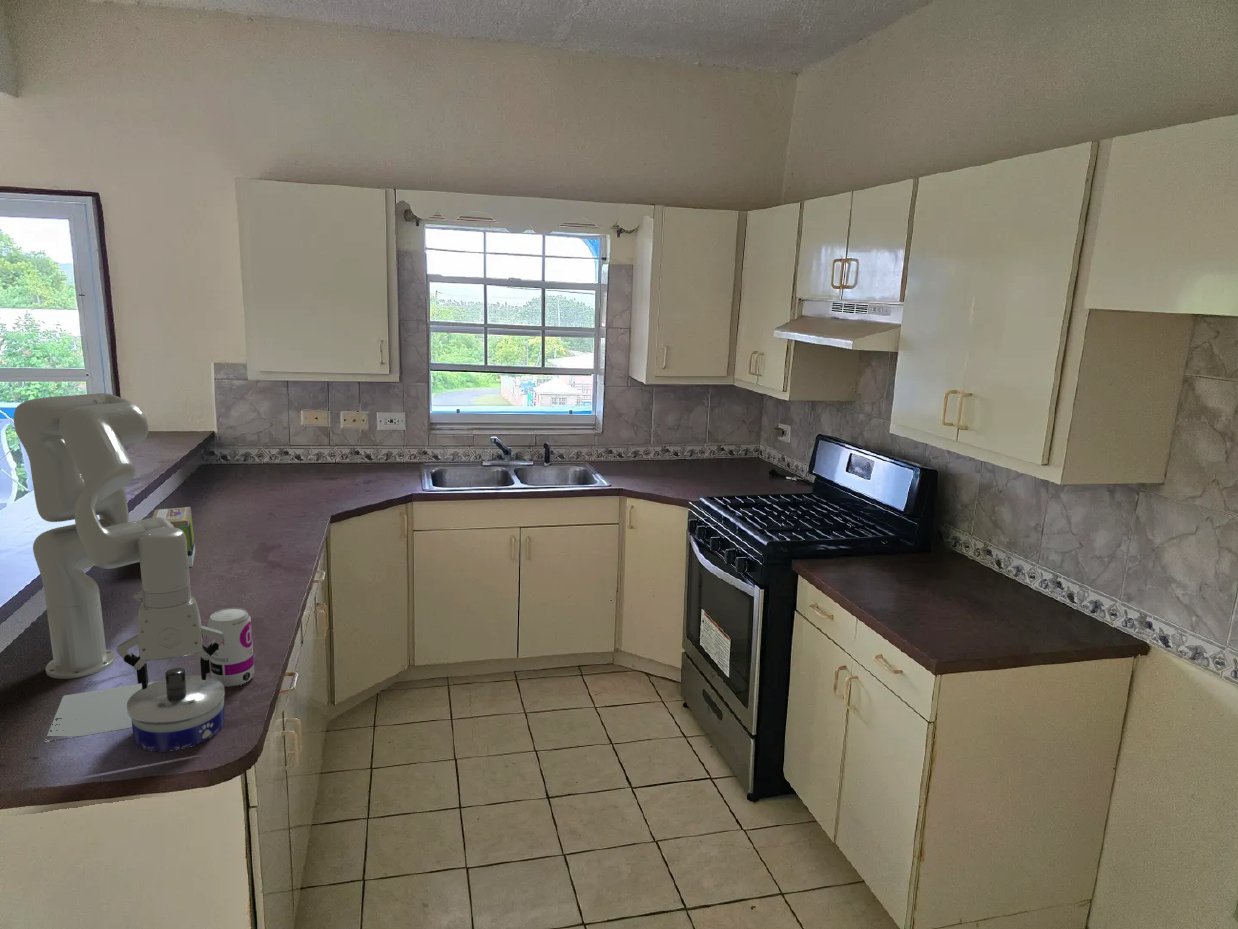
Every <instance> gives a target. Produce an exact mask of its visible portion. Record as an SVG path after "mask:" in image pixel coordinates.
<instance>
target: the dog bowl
mask: <svg viewBox="0 0 1238 929" xmlns="http://www.w3.org/2000/svg"><path fill="white" fill-rule="evenodd" d="M131 719H132V718H131ZM224 725H225V698H224V699H223V701H222V702H221V703H220V704H219V705H218V706H217V707H216V708H215V709H213V710H212V711H210V712H208V713H206V714H204V715H202V716H200V717H197V718H194V719H191V720H188V721H184V722H179V723H174V724H164V725H152V724H144V723H140V722H137V721H135V720H133V719H132V735H133V741H134V743H135V745H136V746H137V747H139V748H140V749H142V748H143V749H142V750H144V749H146V750H145V751H147V750H152V751H170V750H176V749H181V748H187V749H189V748H188V747H190V746H193V745H196V744H198V743H200V742H203V741H205V740H207V739H209V738H210V737H212V736H213V737H215V736H216V735H217V734H219V733H220V731H221V730H222V729H223V727H224ZM215 734H216V735H215ZM214 735H215V736H214ZM213 737H212V738H213ZM210 739H211V738H210ZM210 739H209V740H210ZM207 741H208V740H207ZM205 742H206V741H205ZM203 743H204V742H203ZM198 745H199V744H198ZM196 746H197V745H196ZM193 747H194V746H193ZM190 748H191V747H190Z"/></svg>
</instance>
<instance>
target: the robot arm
mask: <svg viewBox="0 0 1238 929" xmlns="http://www.w3.org/2000/svg"><path fill="white" fill-rule="evenodd" d="M13 412H14V413H13V425H14V429H15V433H16V435H17V437H18V439H19V440H20V443H21V444H22V446H23V448H24V450H25V452H26V454H27V456H28V460H29V466H30V473H31V480H32V481H31V482H32V485H33V487H32V488H33V494H34V499H35V501H34V502H35V505H36V509H37V513H38V514H39V517H41V519H42V520H43V521H46V522H49V523H60V522H66V521H74V523H73V524H69V525H64V526H59V527H55V528H51V529H49V530H46V531H44V532H42V533H40V534H39V535H38V536H37V537H36V538H35V539H34V542H33V544H32V552H33V556H34V559H35V562H36V566H37V568H38V571H39V574H40V578H41V582H42V586H43V591H44V599H45V606H46V613H47V615H46V616H47V621H48V627H49V636H50V637H49V638H50V644H51V652H52V659H51V660H50V661H49V662H48V663H47V665H46V666H45V674H46V675H47V676H49V677H50V678H53V679H62V680H63V679H64V680H66V679H70V680H71V679H76V678H77V679H78V678H82V677H88V676H91V675H95V674H97V673H99V672H102V671H105V670H106V669H107V668H109V667H111V666H112V665H113V664H114V663H115V661H116V654H115V652H114V651H113V650H111V649H107V646H106V640H105V639H106V638H105V637H106V636H105V630H104V620H103V611H102V604H101V594H100V587H99V585H98V583H97V582H96V580H95V579H93V578H92V577H91V576H89V575H88V574H86V573H85V572H84V570H86V569H88V568H91V567H95V566H97V567H98V568H101V569H104V570H106V569H107V570H109V569H117V568H120V567H125V566H129V565H131V564H136V563H139V565H140V576H141V578H140V579H141V587H142V589H141V590H140V591H138V592H133V600H134V601H139V602H141V605H139V607H138V612H137V614H138V615H137V634H136V635H133V637H131V638H129V639H127V640H126V641H123V642H122V643H120V644H118V645H117V647H116V653H117V655H119V656H120V657H121V658H122V659H123V662H124V663H126V664H128V665H129V666H131V667H133V669H134V670H135V671H136V677H137V679H136V680H137V684H142V690H143V689H146V688H147V686H148V683H149V672H148V664H147V662H149V661H159V660H167V659H174V658H180V657H181V658H182V657H187V656H193V655H198V656H199V657H200V660H199V661H200V663H199V664H200V673H201V674H200V676H201V677H202V680H206V676H207V674H210V673H211V663H210V656H211V655H212V654H213V653H214V652H215V651H216V650H217V649H218V648H219V645H220V644H221V642H222V640H223V638H224V632H222V631H218V630H215V629H212V628H208V627H207V626H204V625H202V620H201V614H200V610H199V606H198V603H197V601H196V597H194V596H192V591H191V580H190V579H191V578H190V567H189V565H188V553H187V541H186V535H185V533H184V532H183V531H182V530H181V529H178V528H174V526H173V525H172V524H171V523H170V522H169V521H168V520H167V519H165V518H161V517H155V518H152V517H149V518H145V519H140V520H134V521H130V516H129V508H128V507H129V506H128V498H127V492H126V489H125V487H126V486H127V485H128V484H130V482H132V481H133V479H134V478H135V476H136V472H137V471H136V470H137V469H136V467H135V464H134V463H133V461H132V459H131V457H130V455H129V453H128V451H127V450H126V447H125V446H128V445H129V446H130V445H136V444H141V443H142V442H144V441H145V440H146V438H148V435H149V423H148V419H147V417H146V415H145V414H144V412H143V411H142V409H141V408H140V407H139V406H138V405H136V404H135V403H134V402H132V401H130V400H128V399H125V398H122V397H120V396H117V395H114V394H112V393H103V392H102V393H98V392H97V393H90V394H89V393H87V394H74V395H58V396H47V397H39V398H33V399H29V400H25V401H23V402H21V403H20V404H19V405H17V406H16V408H15V409H14V411H13ZM98 517H99V518H98ZM204 637H207V638H208V637H211V638H214V641H213V642H212V643H211V644H210V645H209V644H208V646H207V645H206V644H205V643H203V642H204V641H203V640H204V639H203V638H204ZM137 645H138V646H137ZM135 646H137V648H138V655H135V654H134V653H131V652H130V649H131V648H134V647H135Z"/></svg>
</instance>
